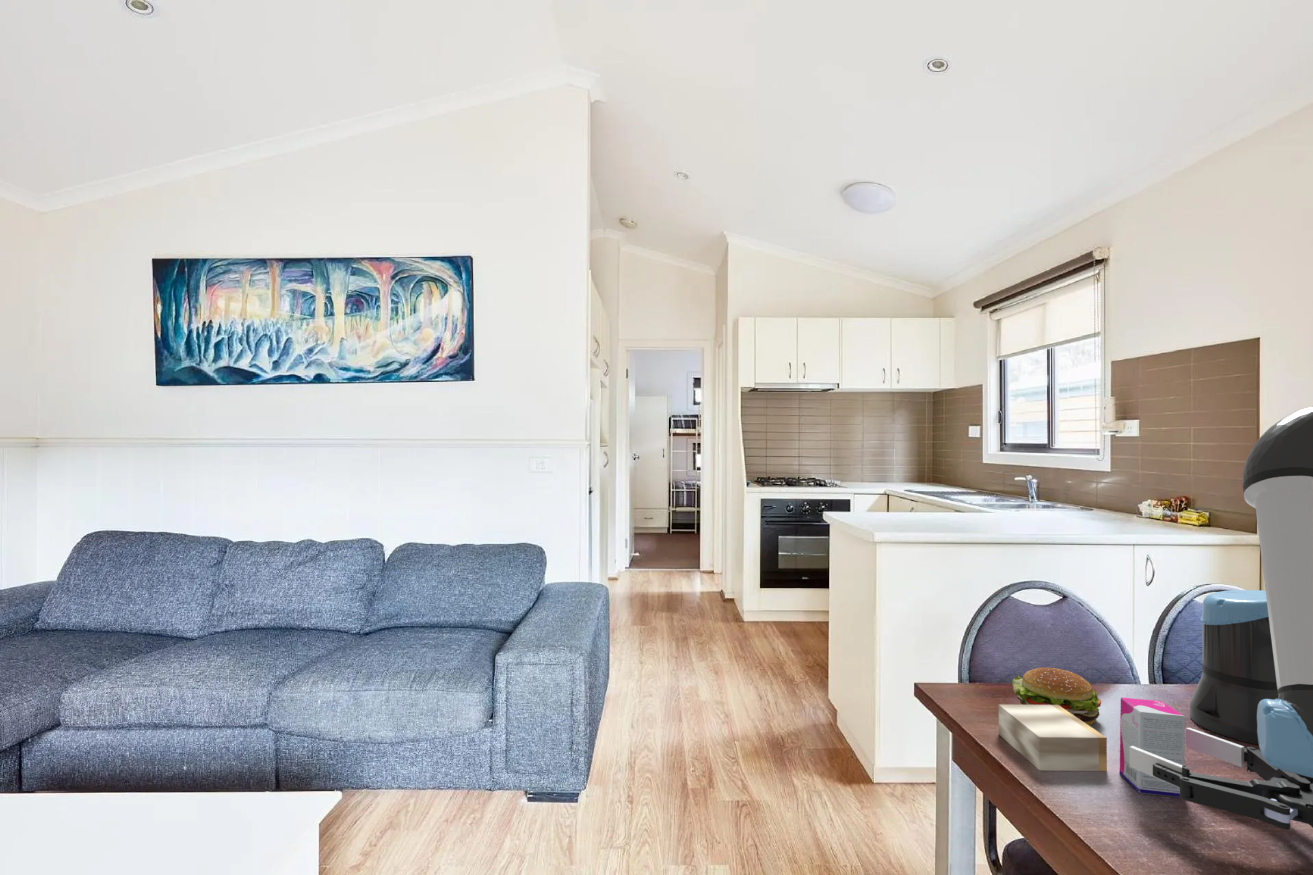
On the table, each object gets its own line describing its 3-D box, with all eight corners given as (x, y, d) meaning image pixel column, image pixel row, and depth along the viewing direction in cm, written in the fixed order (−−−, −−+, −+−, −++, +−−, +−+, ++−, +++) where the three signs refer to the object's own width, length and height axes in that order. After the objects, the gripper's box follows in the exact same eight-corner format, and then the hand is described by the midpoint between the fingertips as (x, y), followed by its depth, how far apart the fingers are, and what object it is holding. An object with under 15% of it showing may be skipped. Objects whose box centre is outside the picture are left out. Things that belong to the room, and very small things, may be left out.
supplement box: (1186, 798, 89) (1186, 715, 89) (1138, 793, 91) (1138, 712, 91) (1163, 777, 95) (1162, 699, 95) (1117, 772, 96) (1117, 696, 96)
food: (1021, 693, 127) (1021, 652, 127) (1107, 714, 117) (1107, 670, 117) (999, 714, 117) (999, 670, 117) (1091, 739, 107) (1091, 691, 107)
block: (1106, 770, 97) (1106, 737, 97) (1039, 770, 97) (1039, 737, 97) (1058, 734, 109) (1058, 704, 109) (998, 734, 109) (998, 704, 109)
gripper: (1320, 894, 67) (1105, 792, 86) (1421, 833, 77) (1209, 754, 96) (1319, 822, 67) (1105, 736, 86) (1420, 770, 77) (1208, 704, 96)
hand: (1159, 746), depth 91 cm, fingers open, 13 cm apart
